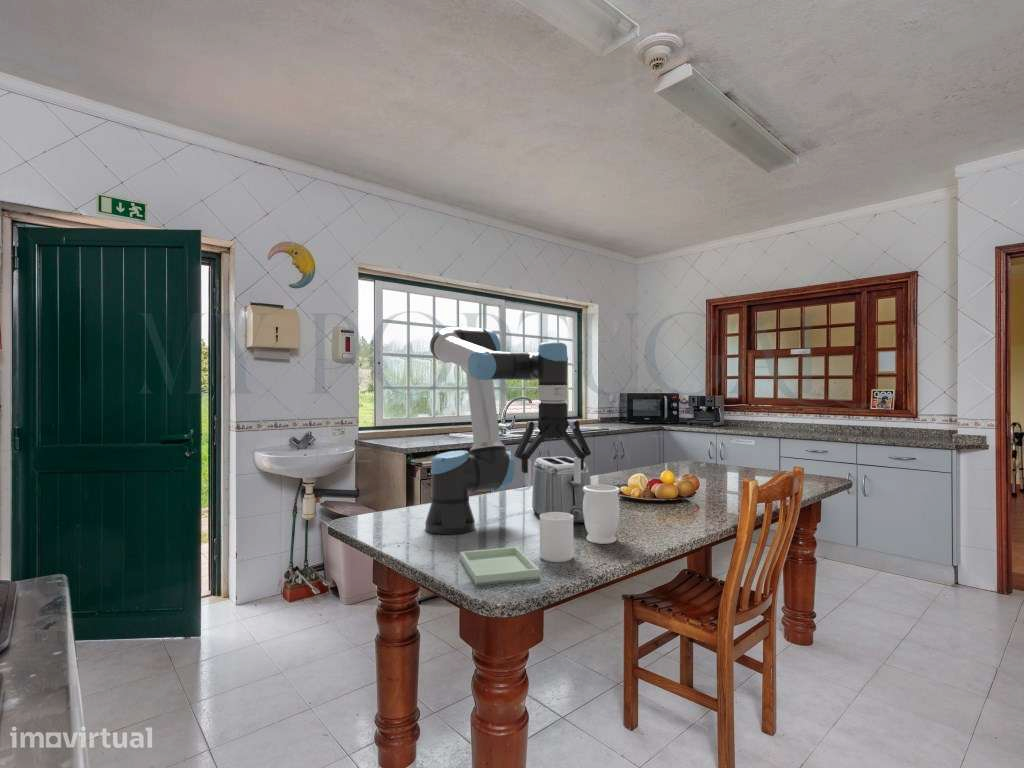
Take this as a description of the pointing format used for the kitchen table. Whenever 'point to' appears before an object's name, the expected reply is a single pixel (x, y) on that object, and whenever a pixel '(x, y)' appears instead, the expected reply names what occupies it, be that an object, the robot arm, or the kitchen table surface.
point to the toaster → (558, 487)
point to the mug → (556, 536)
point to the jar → (601, 512)
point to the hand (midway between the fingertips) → (553, 484)
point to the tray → (498, 566)
